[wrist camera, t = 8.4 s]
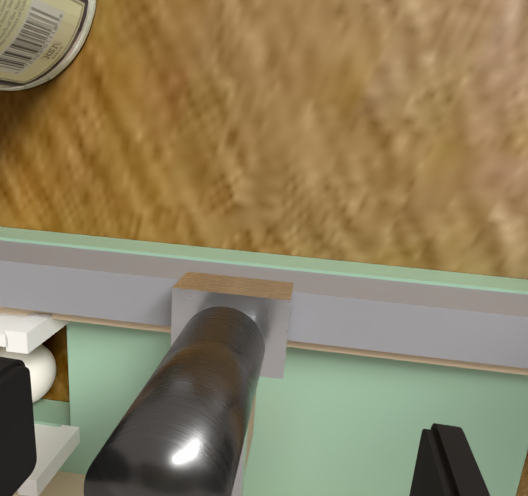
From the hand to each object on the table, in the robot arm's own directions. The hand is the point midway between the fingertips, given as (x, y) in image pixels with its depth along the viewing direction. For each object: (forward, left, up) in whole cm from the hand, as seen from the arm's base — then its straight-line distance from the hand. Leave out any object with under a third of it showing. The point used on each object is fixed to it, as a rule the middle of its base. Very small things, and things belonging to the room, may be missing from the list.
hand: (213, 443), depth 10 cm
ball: (+13, +7, -12) cm, 19 cm away
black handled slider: (+1, +4, -11) cm, 12 cm away
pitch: (+1, +6, -14) cm, 15 cm away
